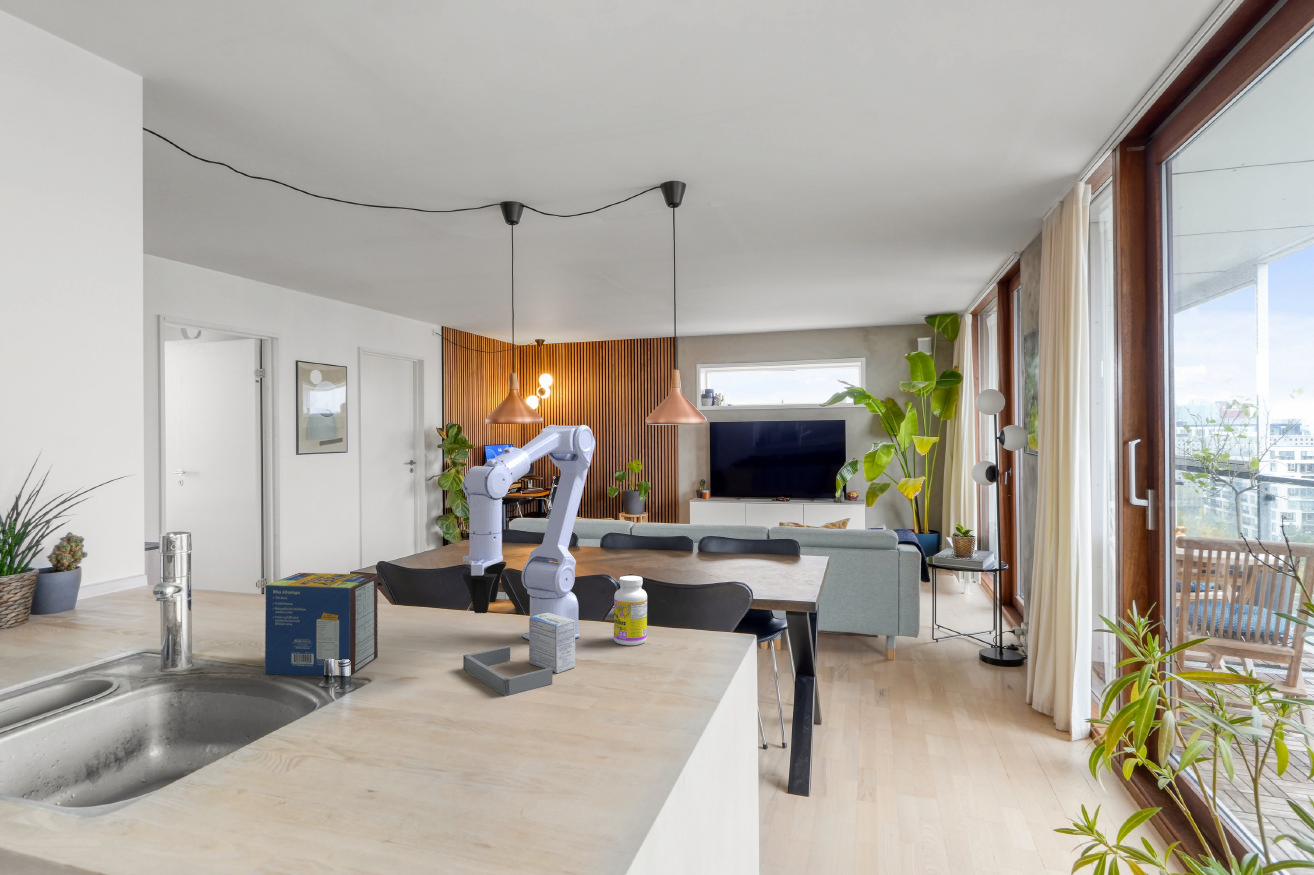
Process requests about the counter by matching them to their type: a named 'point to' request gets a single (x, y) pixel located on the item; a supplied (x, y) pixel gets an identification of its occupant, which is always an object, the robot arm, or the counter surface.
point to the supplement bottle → (630, 612)
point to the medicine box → (552, 642)
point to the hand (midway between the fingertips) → (485, 607)
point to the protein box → (320, 622)
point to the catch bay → (506, 686)
